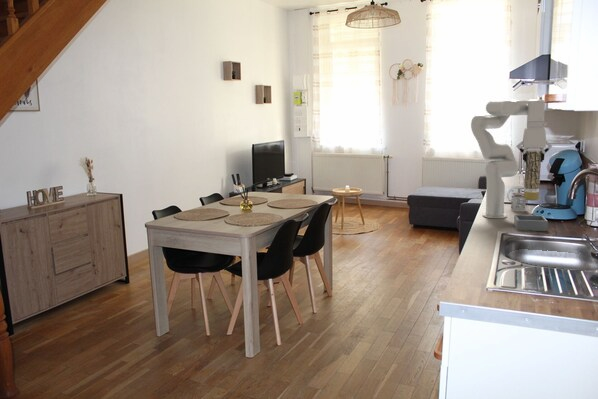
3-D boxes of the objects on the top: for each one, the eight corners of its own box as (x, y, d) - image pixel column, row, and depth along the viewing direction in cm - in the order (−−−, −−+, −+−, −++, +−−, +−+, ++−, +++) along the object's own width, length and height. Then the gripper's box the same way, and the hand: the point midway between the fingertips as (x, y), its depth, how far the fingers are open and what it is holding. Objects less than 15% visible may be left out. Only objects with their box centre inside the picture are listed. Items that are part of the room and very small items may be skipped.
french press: (530, 211, 290) (532, 168, 285) (510, 211, 290) (512, 169, 286) (522, 208, 299) (524, 167, 295) (503, 208, 300) (505, 167, 295)
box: (513, 224, 257) (514, 214, 256) (542, 225, 253) (543, 215, 252) (517, 230, 244) (517, 220, 244) (547, 231, 240) (547, 221, 239)
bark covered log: (540, 200, 242) (543, 150, 238) (525, 200, 244) (528, 150, 240) (536, 198, 249) (539, 149, 245) (522, 198, 250) (524, 149, 246)
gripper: (553, 124, 241) (551, 161, 244) (515, 125, 246) (513, 161, 249) (556, 125, 234) (554, 162, 237) (516, 125, 239) (515, 162, 242)
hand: (533, 161), depth 243 cm, fingers closed on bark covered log, 6 cm apart
